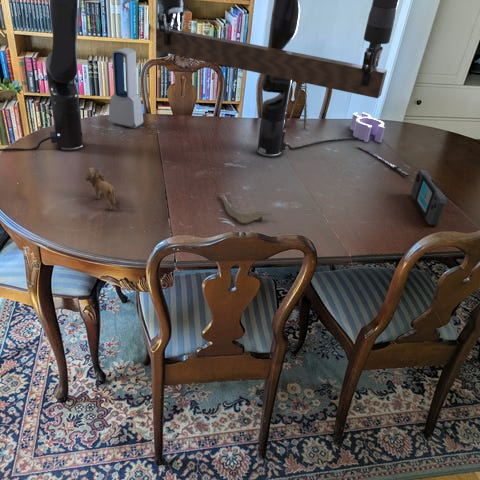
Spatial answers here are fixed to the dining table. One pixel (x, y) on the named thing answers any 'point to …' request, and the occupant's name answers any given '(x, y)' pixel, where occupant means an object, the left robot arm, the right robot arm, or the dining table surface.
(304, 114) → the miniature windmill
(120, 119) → the electronic device
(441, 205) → the handheld gaming console
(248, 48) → the post
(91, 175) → the lion figurine
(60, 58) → the left robot arm
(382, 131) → the clip
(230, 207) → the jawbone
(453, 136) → the dining table surface
